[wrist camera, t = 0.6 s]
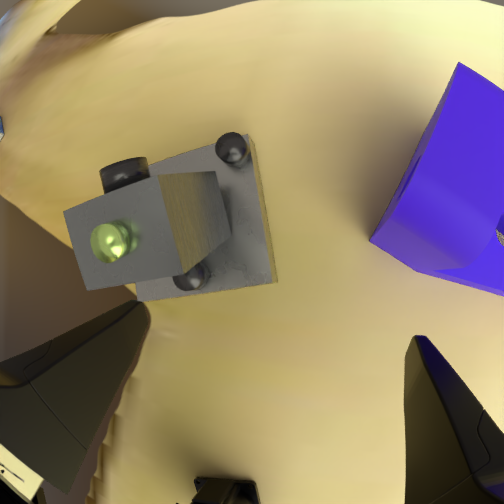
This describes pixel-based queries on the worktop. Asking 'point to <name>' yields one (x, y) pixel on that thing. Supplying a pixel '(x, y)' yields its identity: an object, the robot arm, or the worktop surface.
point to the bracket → (454, 190)
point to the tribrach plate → (239, 217)
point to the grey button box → (146, 224)
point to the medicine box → (1, 130)
